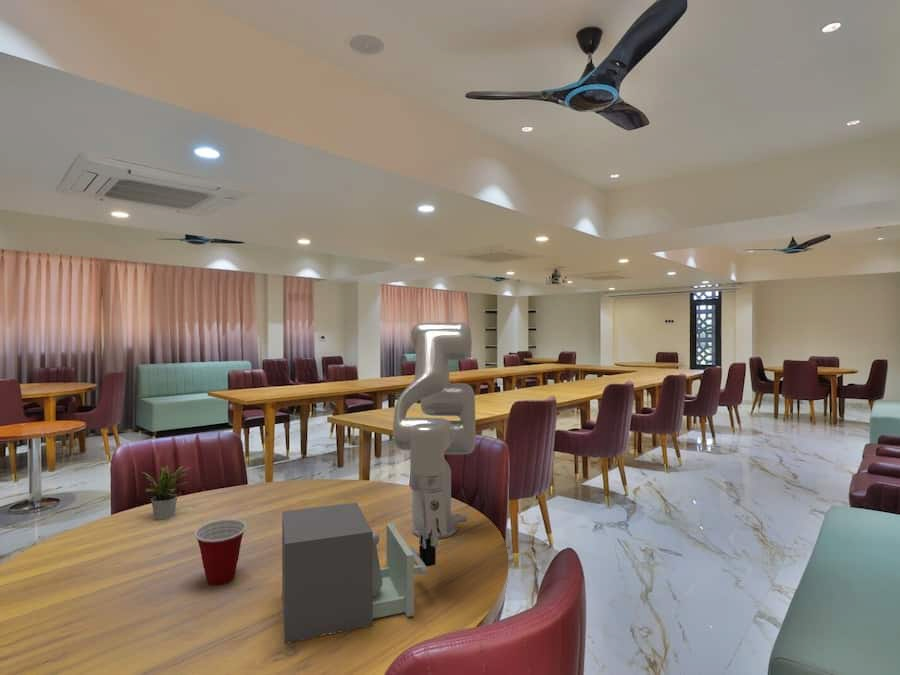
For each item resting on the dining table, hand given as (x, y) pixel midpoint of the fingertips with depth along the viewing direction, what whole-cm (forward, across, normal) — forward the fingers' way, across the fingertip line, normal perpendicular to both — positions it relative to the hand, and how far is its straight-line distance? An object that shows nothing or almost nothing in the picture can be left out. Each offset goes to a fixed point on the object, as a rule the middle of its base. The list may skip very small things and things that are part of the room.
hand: (427, 564), depth 106 cm
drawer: (+5, 0, +12) cm, 13 cm away
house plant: (+6, +71, +61) cm, 94 cm away
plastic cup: (+6, +22, +43) cm, 48 cm away
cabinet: (+6, 0, +22) cm, 23 cm away
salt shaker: (+4, 0, +13) cm, 14 cm away
